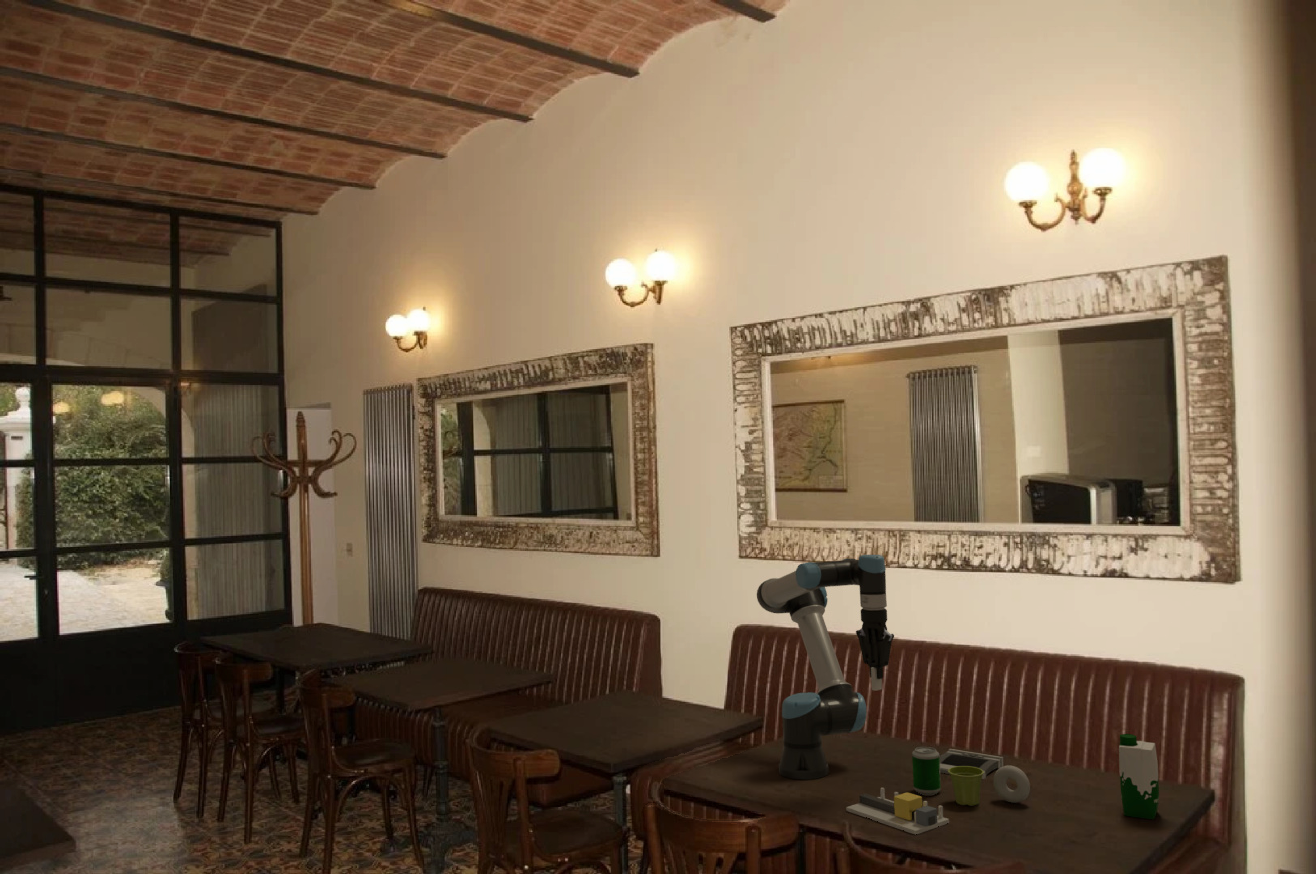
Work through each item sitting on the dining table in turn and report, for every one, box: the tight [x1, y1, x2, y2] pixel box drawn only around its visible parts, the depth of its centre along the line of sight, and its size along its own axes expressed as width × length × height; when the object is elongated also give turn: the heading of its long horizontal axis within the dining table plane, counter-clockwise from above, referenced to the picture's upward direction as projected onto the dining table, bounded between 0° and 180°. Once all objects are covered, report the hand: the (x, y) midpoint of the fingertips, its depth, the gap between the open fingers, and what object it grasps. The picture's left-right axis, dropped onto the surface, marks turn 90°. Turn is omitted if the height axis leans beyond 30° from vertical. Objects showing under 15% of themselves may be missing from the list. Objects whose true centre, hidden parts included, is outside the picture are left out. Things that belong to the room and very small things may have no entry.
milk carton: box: [1118, 733, 1160, 820], centre depth 266 cm, size 9×9×20 cm
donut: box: [992, 765, 1031, 804], centre depth 278 cm, size 10×4×10 cm, turn 49°
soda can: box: [911, 746, 942, 796], centre depth 290 cm, size 8×8×12 cm
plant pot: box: [948, 766, 984, 807], centre depth 280 cm, size 9×9×9 cm
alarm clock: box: [939, 748, 1004, 780], centre depth 310 cm, size 17×5×16 cm
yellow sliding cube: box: [893, 792, 923, 820], centre depth 267 cm, size 5×5×5 cm
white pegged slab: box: [845, 787, 950, 836], centre depth 270 cm, size 24×13×5 cm, turn 35°
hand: (877, 689), depth 295 cm, fingers closed
